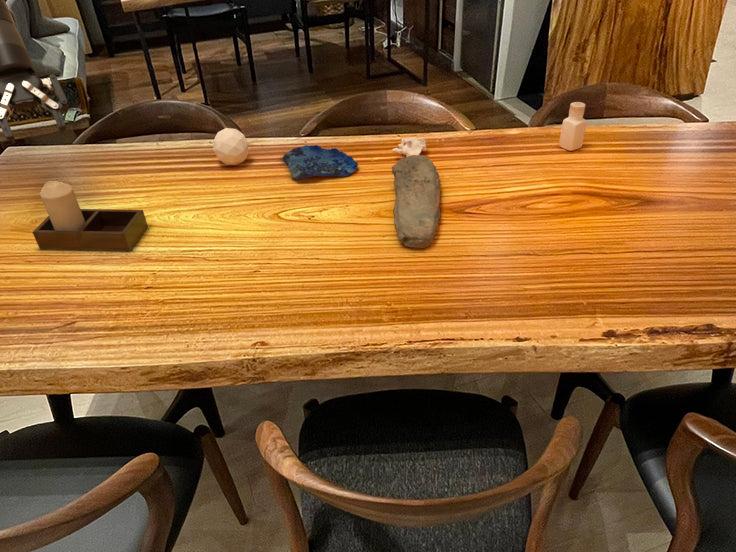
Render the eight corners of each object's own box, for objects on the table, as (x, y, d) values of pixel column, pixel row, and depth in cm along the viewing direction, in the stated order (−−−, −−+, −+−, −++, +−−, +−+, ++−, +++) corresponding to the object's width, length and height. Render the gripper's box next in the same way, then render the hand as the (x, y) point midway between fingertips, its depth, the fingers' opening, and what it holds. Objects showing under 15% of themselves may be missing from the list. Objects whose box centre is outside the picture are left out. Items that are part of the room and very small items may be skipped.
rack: (39, 249, 115) (32, 232, 112) (62, 225, 121) (55, 208, 119) (130, 251, 113) (124, 233, 111) (148, 226, 120) (143, 209, 117)
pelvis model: (402, 130, 142) (430, 131, 140) (404, 148, 145) (431, 149, 143) (390, 143, 137) (419, 144, 134) (392, 162, 139) (420, 163, 137)
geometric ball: (242, 177, 142) (243, 157, 134) (208, 164, 140) (207, 144, 133) (253, 149, 144) (254, 128, 136) (219, 136, 142) (218, 115, 135)
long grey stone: (386, 256, 111) (442, 259, 111) (387, 231, 108) (445, 233, 108) (392, 164, 136) (437, 166, 136) (393, 141, 132) (440, 143, 132)
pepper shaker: (569, 142, 144) (577, 99, 137) (582, 147, 141) (591, 104, 135) (557, 146, 142) (564, 103, 136) (570, 152, 140) (578, 108, 133)
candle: (94, 229, 118) (76, 179, 111) (73, 243, 114) (52, 192, 108) (73, 224, 120) (53, 174, 113) (51, 237, 116) (29, 187, 109)
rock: (295, 185, 131) (294, 176, 129) (277, 156, 143) (276, 147, 142) (361, 174, 134) (361, 166, 133) (338, 147, 146) (337, 138, 145)
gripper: (-44, 48, 109) (-9, 134, 109) (42, 35, 114) (75, 118, 114) (-32, 72, 116) (1, 153, 116) (49, 59, 121) (80, 137, 121)
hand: (38, 136), depth 115 cm, fingers open, 8 cm apart
